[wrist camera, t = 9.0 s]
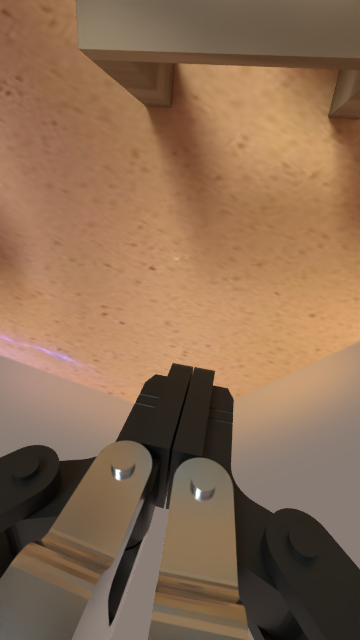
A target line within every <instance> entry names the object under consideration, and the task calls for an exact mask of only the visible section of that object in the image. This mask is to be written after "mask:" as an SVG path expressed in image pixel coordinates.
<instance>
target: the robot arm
mask: <svg viewBox="0 0 360 640" xmlns="http://www.w3.org/2000/svg"><path fill="white" fill-rule="evenodd" d="M192 374H193V375H192ZM214 374H215V371H212V370H207V369H202V368H197V367H195V368H194V371H193V367H191V366H186V365H180V364H175V363H173V364H172V366H171V369H170V371H169V374H168V376H162V375H157V374H155V375H154V376H153V377H152V378H150V379H149V380H148V381H146V382H145V384H144V386H143V388H142V390H141V392H140V395H139V396H138V398H137V400H136V403H135V404H134V406H133V408H132V410H131V412H130V414H129V416H128V418H127V420H126V422H125V424H124V426H123V428H122V430H121V432H120V434H119V436H118V438H117V440H116V442H115V443H112V444H110V445H108V446H107V447H105V448H104V449H103V450H102V451H101V452H100V453H99V454H98V456H96V457H93V458H89V459H84V460H68V461H59V458H58V456H57V454H56V452H55V451H54V450H53V449H51V448H49V447H47V446H42V445H33V446H27V447H24V448H21V449H19V450H16V451H14V452H12V453H10V454H7V455H5V456H3V457H1V458H0V640H112V637H113V634H114V630H115V627H116V624H117V621H118V618H119V615H120V612H121V610H122V607H123V603H124V601H125V598H126V595H127V592H128V589H129V586H130V583H131V581H132V578H133V575H134V572H135V569H136V566H137V563H138V560H139V558H140V555H141V552H142V549H143V546H144V543H145V540H146V537H147V532H148V529H149V527H150V523H151V520H152V516H153V512H154V508H155V506H157V507H161V508H164V504H165V500H166V496H167V504H166V509H169V512H168V519H167V525H166V531H165V538H164V544H163V551H162V558H161V564H160V570H159V576H158V582H157V587H156V592H155V598H154V604H153V610H152V617H151V623H150V629H149V637H148V640H249V636H248V628H249V630H250V632H251V634H252V636H253V638H254V640H360V569H359V568H358V567H357V566H356V564H355V563H354V562H353V561H352V560H351V559H350V557H349V556H348V555H347V554H346V553H345V552H344V551H343V549H342V548H341V547H340V546H339V544H338V543H337V542H336V541H335V540H334V539H333V537H332V536H331V535H330V534H329V533H328V531H327V530H326V529H325V528H324V527H323V526H322V525H321V524H320V523H319V522H318V521H317V520H316V519H314V518H313V517H311V516H310V515H308V514H306V513H305V512H302V511H300V510H297V509H291V508H290V509H289V508H286V509H281V510H278V511H276V512H275V513H272V512H270V511H269V510H267V509H265V508H264V507H262V506H260V505H258V504H257V503H255V502H254V501H252V500H251V499H249V498H248V497H247V496H246V495H244V493H243V492H242V491H241V490H240V489H239V487H238V486H237V485H236V483H235V481H234V479H233V476H232V473H231V449H232V423H233V402H234V400H233V398H232V396H231V394H230V392H229V390H228V388H223V387H218V386H213V381H214ZM167 492H168V495H167Z"/></svg>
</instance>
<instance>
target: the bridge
mask: <svg viewBox="0 0 360 640" xmlns="http://www.w3.org/2000/svg"><path fill="white" fill-rule="evenodd" d="M76 9H77V29H78V49H79V50H80V51H82V52H83V53H84V54H85V55H86V56H87V57H89V58H90V59H91V60H92V61H93V62H95V63H96V64H97V65H98V66H99V67H100V68H102V69H103V70H104V71H105V72H106V73H107V74H109V75H110V76H111V77H112V78H113V79H114V80H116V81H117V82H118V83H119V84H120V85H122V86H123V87H124V88H125V89H126V90H127V91H129V92H130V93H131V94H132V95H133V96H134V97H136V98H137V99H138V100H139V101H140V102H141V103H143V104H144V105H145V106H156V107H171V106H172V90H173V74H174V63H186V64H211V65H237V66H262V67H288V68H313V69H338V70H340V73H339V77H338V81H337V84H336V88H335V92H334V96H333V100H332V104H331V107H330V111H329V115H328V117H334V118H350V119H360V0H76Z"/></svg>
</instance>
